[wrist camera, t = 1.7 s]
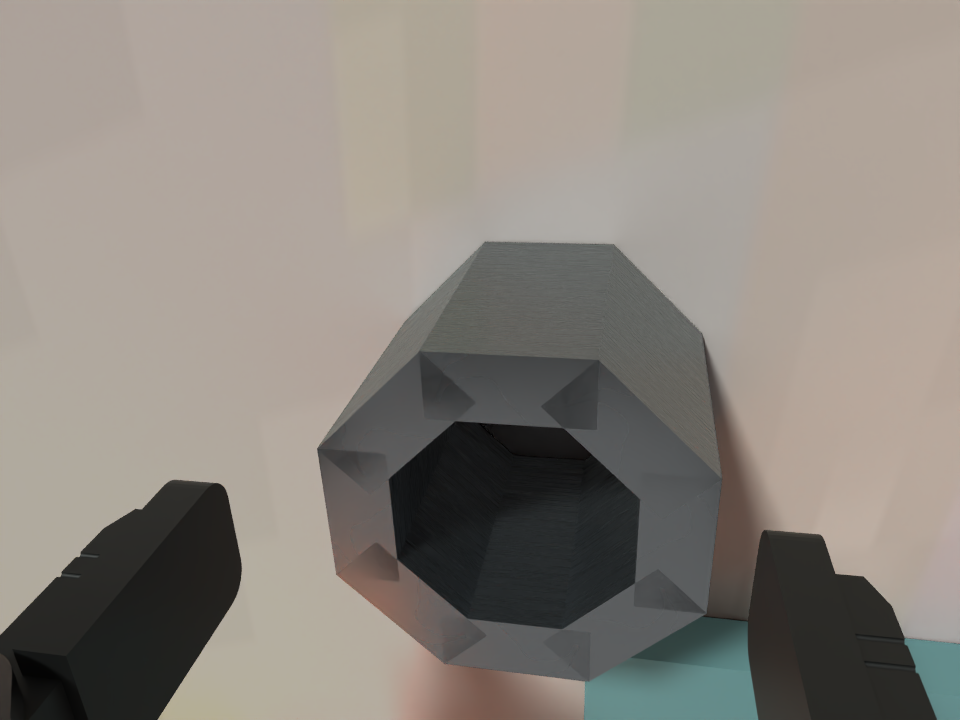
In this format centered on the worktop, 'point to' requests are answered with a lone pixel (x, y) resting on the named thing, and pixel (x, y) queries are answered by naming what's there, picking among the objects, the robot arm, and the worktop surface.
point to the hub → (531, 466)
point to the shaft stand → (729, 677)
